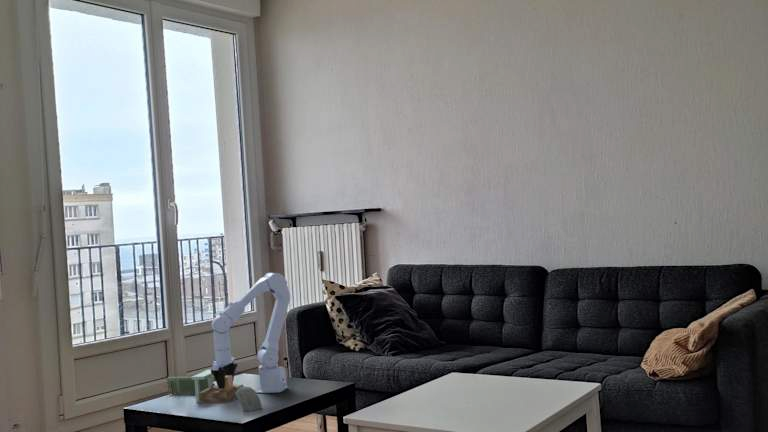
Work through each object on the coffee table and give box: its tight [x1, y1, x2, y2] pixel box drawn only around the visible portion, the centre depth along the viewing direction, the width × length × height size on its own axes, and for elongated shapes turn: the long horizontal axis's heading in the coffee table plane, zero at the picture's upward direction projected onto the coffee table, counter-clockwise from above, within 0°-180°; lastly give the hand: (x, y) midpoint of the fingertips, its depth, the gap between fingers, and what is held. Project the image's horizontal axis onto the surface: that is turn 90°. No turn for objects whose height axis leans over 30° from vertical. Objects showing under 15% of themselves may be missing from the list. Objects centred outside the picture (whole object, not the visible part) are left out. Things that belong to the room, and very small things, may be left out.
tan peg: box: [218, 375, 234, 391], centre depth 291 cm, size 4×4×8 cm
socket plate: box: [198, 384, 244, 404], centre depth 292 cm, size 12×12×4 cm
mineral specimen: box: [235, 386, 263, 412], centre depth 270 cm, size 7×9×8 cm
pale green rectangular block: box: [191, 368, 214, 404], centre depth 293 cm, size 5×13×10 cm, turn 165°
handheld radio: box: [166, 375, 215, 395], centre depth 305 cm, size 7×3×25 cm
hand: (225, 386), depth 291 cm, fingers open, 6 cm apart
